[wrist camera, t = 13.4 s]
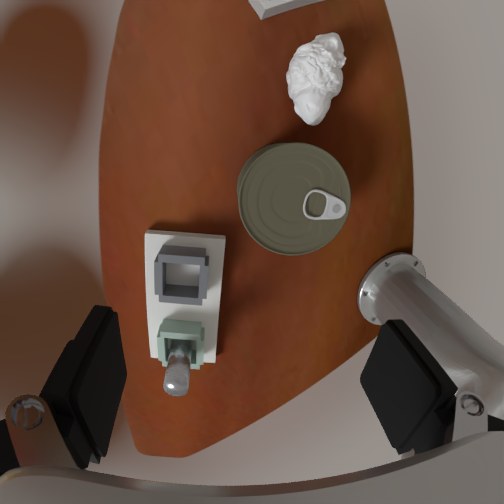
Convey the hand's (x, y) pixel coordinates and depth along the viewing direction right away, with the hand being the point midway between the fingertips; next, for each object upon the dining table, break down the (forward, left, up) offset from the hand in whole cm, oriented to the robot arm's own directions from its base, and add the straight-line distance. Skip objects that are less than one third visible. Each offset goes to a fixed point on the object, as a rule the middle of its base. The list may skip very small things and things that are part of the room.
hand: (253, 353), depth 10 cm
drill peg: (-15, +16, -27) cm, 34 cm away
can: (-3, -6, -29) cm, 29 cm away
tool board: (-10, +13, -28) cm, 33 cm away
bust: (+8, -15, -29) cm, 33 cm away
